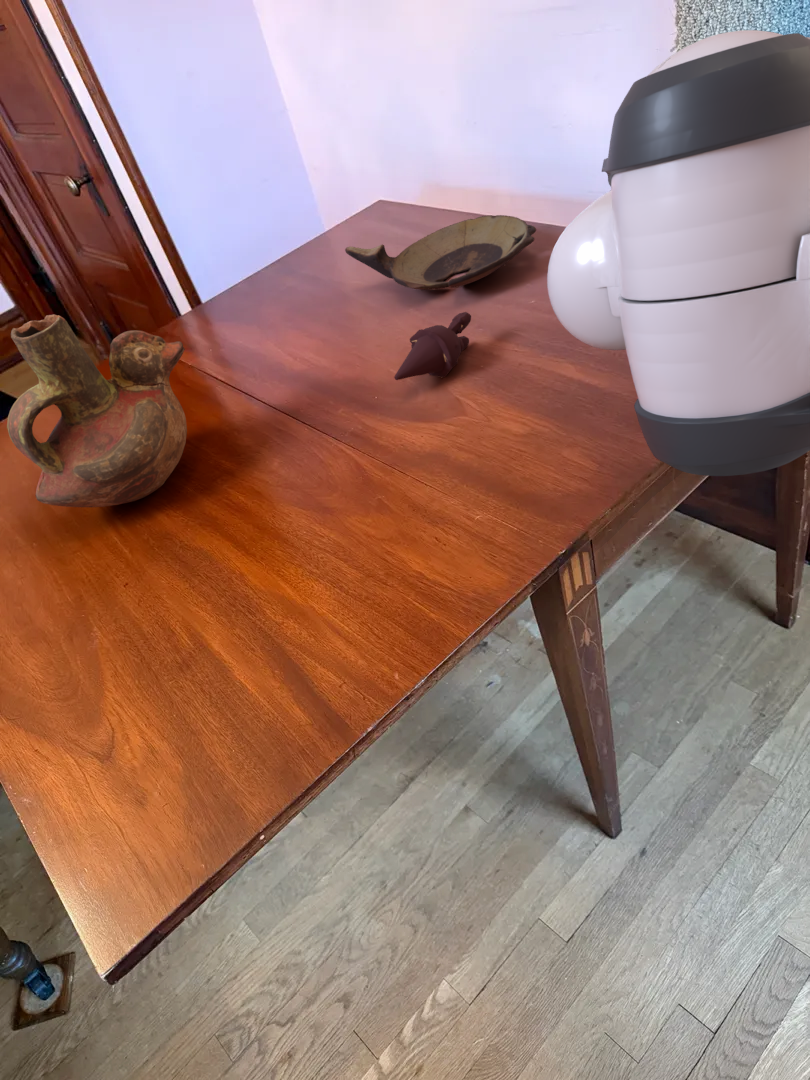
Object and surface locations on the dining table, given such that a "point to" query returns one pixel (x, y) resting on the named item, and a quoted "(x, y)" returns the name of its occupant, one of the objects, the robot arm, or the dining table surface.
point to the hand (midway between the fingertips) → (634, 171)
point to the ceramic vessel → (99, 415)
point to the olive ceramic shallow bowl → (452, 252)
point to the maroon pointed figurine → (435, 349)
